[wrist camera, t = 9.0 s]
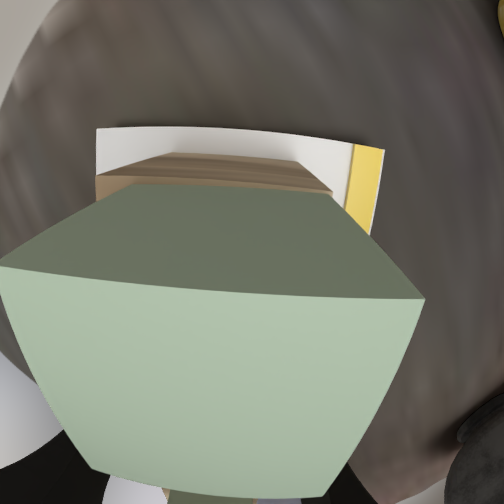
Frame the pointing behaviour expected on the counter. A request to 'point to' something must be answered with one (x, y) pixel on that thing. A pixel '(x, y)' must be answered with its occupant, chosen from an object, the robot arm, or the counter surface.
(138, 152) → the dock
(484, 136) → the counter surface
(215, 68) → the counter surface
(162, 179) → the tan wooden bar
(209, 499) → the block
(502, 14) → the plant pot
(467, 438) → the pitcher
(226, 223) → the block
